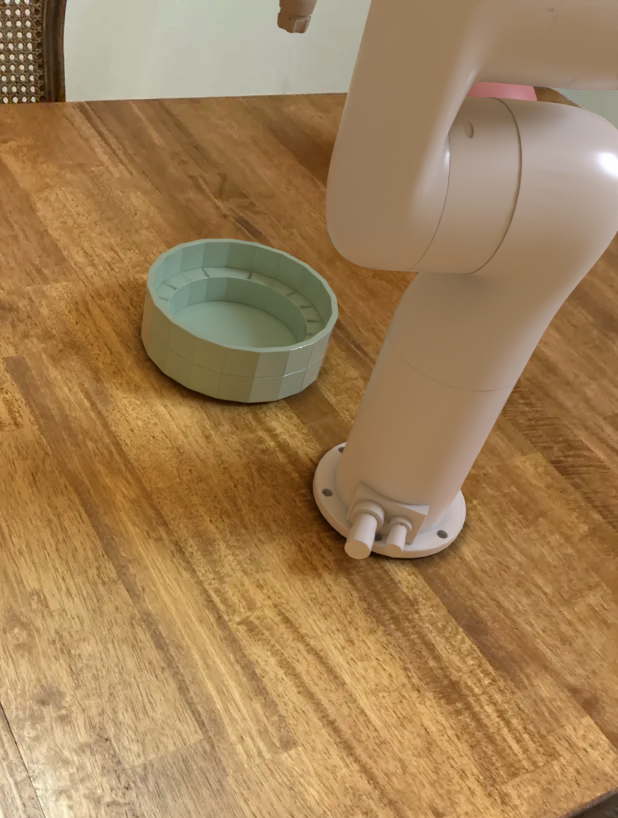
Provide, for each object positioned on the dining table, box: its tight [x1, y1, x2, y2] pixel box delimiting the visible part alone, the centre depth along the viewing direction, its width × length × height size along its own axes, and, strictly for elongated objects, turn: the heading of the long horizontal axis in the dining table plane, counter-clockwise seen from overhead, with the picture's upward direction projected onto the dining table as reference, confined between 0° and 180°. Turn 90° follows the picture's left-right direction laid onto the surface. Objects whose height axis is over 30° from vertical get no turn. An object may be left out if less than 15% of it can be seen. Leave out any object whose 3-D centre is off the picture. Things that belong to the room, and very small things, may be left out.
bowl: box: [140, 238, 339, 404], centre depth 80 cm, size 17×17×6 cm
